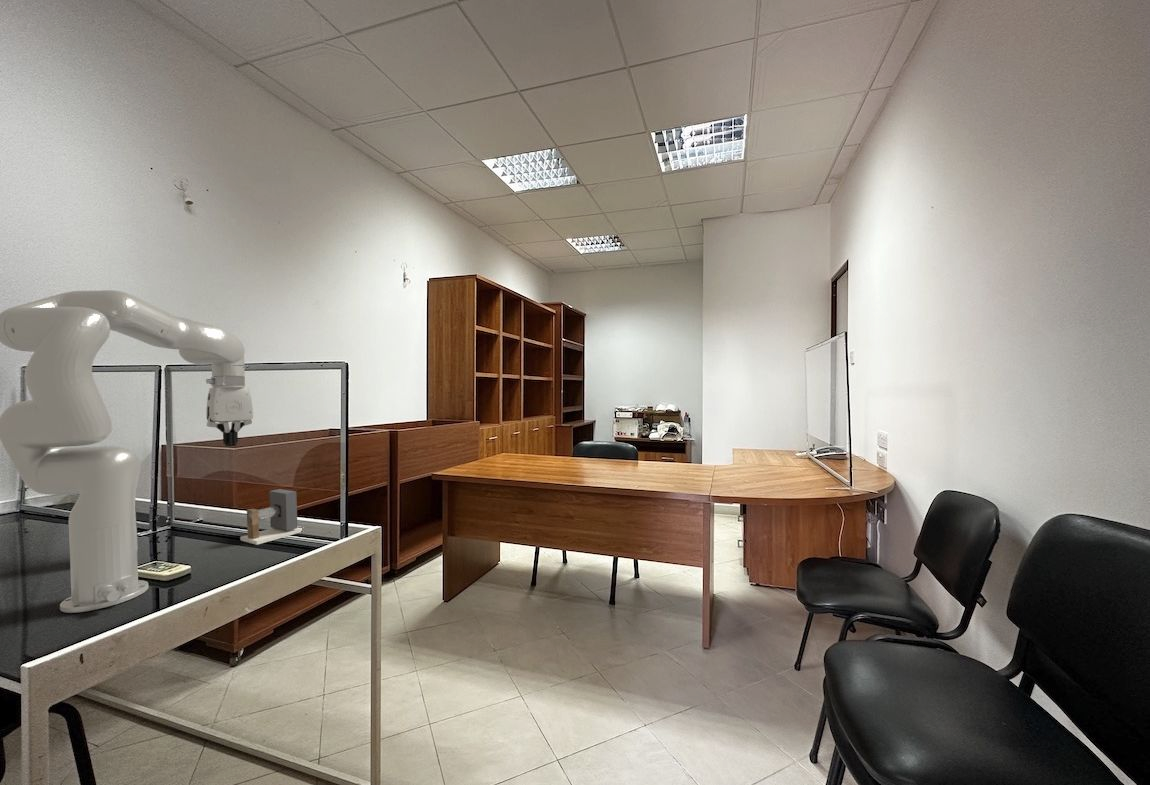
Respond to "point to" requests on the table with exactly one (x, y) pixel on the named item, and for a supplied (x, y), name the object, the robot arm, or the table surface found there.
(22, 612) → the table surface
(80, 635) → the table surface
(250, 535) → the pipe stand
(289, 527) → the upright gray rectangular block
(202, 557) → the table surface
